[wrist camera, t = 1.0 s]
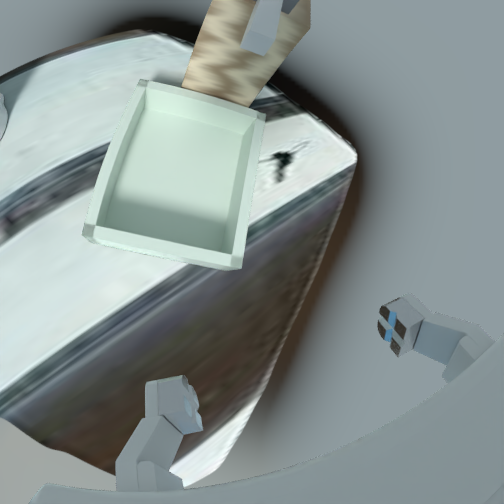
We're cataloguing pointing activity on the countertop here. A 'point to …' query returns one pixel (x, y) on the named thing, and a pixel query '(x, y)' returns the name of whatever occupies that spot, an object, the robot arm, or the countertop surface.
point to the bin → (178, 178)
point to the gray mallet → (264, 24)
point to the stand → (239, 51)
